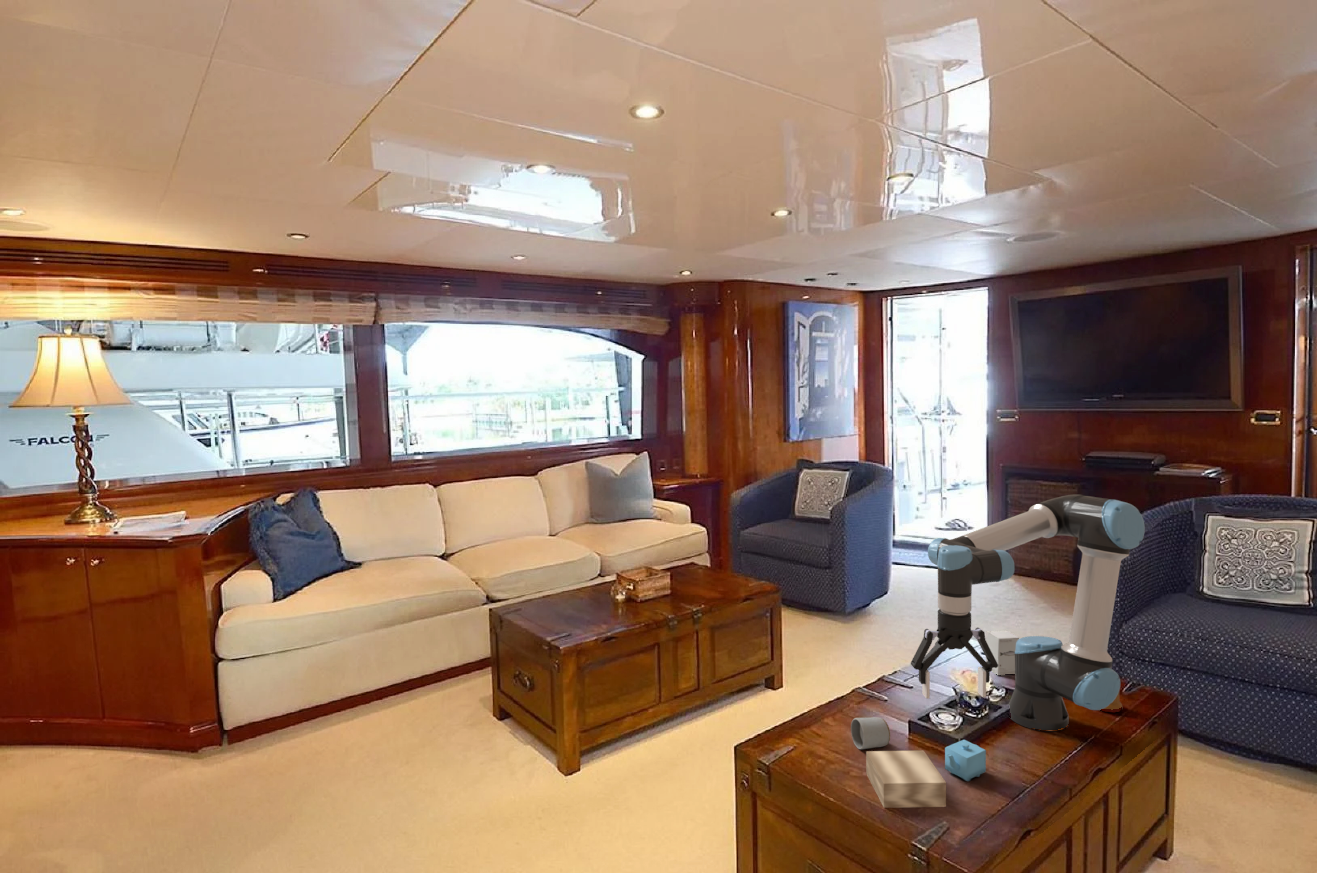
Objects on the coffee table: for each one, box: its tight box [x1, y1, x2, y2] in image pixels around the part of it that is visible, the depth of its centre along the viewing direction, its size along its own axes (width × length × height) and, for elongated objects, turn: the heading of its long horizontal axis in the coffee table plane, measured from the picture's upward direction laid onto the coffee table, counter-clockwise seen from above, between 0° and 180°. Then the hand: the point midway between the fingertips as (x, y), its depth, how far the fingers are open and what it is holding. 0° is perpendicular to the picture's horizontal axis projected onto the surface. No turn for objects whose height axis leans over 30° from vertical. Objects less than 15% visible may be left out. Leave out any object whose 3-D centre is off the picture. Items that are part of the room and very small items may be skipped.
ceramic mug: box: [850, 716, 891, 750], centre depth 187 cm, size 11×8×8 cm
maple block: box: [865, 750, 947, 809], centre depth 166 cm, size 14×14×6 cm
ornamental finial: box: [1104, 692, 1123, 710], centre depth 203 cm, size 8×8×8 cm
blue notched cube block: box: [944, 739, 987, 782], centre depth 171 cm, size 12×6×8 cm, turn 120°
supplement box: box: [985, 629, 1020, 676], centre depth 231 cm, size 7×7×13 cm
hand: (953, 695), depth 172 cm, fingers open, 13 cm apart
